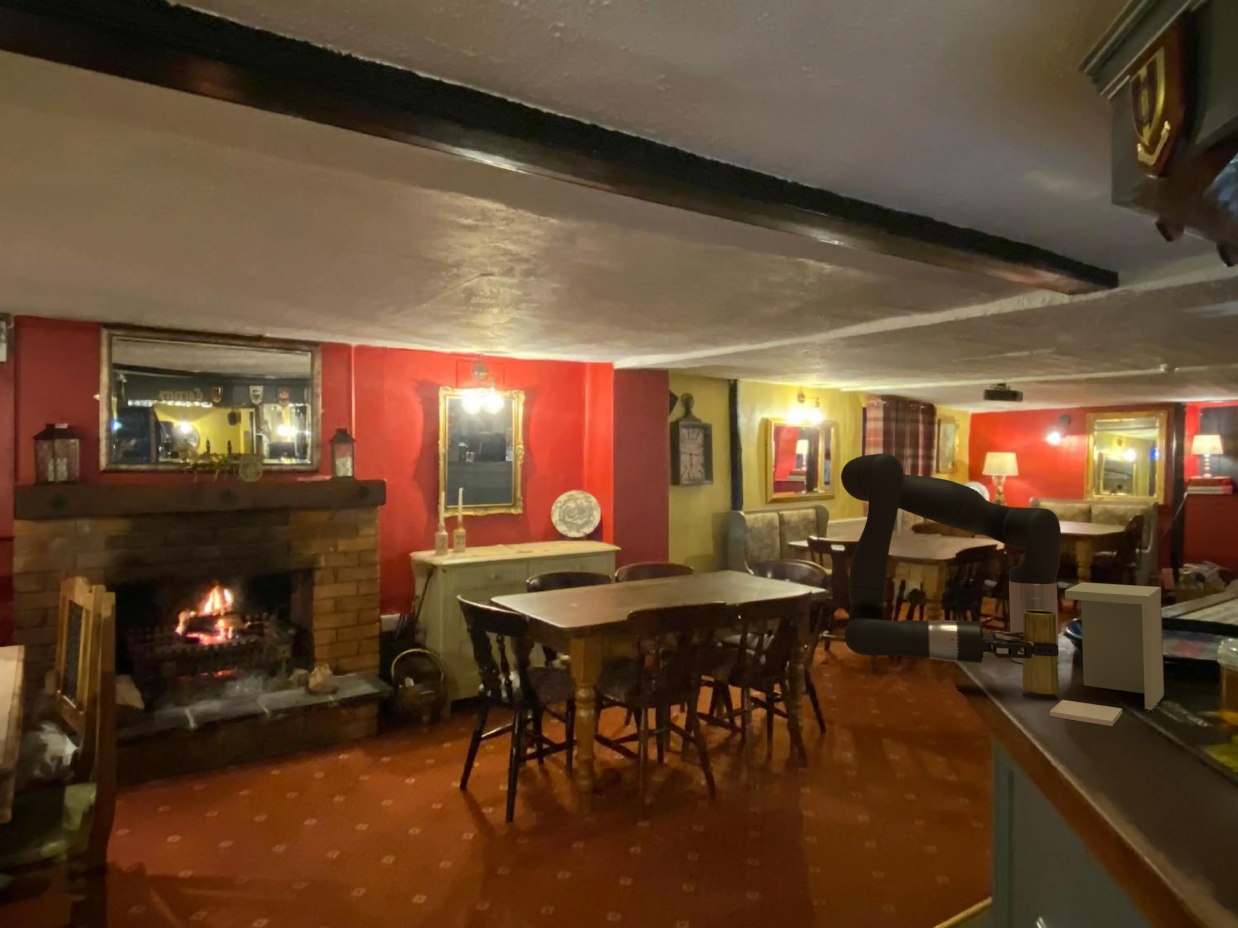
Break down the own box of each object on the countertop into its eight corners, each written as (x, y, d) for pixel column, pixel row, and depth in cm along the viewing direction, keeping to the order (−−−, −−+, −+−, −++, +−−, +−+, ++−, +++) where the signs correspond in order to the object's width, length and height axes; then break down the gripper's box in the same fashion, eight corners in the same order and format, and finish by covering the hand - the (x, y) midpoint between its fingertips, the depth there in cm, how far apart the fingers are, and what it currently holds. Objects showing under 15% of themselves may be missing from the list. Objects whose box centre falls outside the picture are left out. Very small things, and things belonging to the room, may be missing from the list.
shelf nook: (1085, 683, 155) (1082, 582, 156) (1164, 694, 147) (1160, 587, 147) (1067, 699, 145) (1064, 590, 145) (1152, 711, 136) (1148, 596, 137)
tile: (1062, 704, 142) (1062, 699, 142) (1122, 713, 136) (1122, 708, 136) (1049, 716, 135) (1049, 711, 135) (1111, 726, 129) (1111, 720, 129)
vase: (1065, 690, 147) (1064, 611, 147) (1049, 696, 143) (1048, 615, 143) (1031, 683, 151) (1030, 607, 152) (1015, 689, 148) (1014, 611, 148)
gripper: (955, 627, 146) (1061, 633, 140) (953, 614, 159) (1049, 619, 153) (956, 669, 146) (1062, 676, 140) (954, 652, 159) (1050, 658, 153)
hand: (1055, 646), depth 146 cm, fingers closed on vase, 5 cm apart
